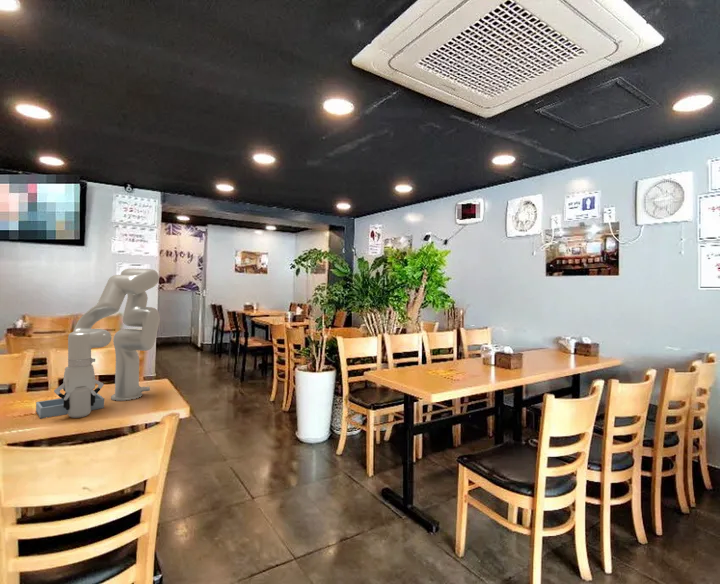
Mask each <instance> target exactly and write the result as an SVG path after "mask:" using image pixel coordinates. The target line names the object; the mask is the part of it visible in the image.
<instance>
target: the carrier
mask: <svg viewBox="0 0 720 584" xmlns="http://www.w3.org/2000/svg"><path fill="white" fill-rule="evenodd" d="M100 409H101V410H102V409H105V398H104V396H102V395H100V394H99V392H98V393H97V394H96V395H95V403H94V406H91V411H94V410H100ZM35 412H37V413H36V414H37V415H38V417H39V419H46V417H47V418H52V416H53V417H57V416H65V415H68V410H66V409H65V408H64V399H62V398H61V397H59V398H56V399H48V400H40V401H36V402H35Z"/></svg>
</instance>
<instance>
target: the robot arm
mask: <svg viewBox="0 0 720 584" xmlns="http://www.w3.org/2000/svg"><path fill="white" fill-rule="evenodd" d="M159 278H160V275H159V273H158V272H157V271H156V270H155V269H152V268H125V269H123V270H122V271H121V273H120V274H114V275H111V276H110V277H109V278H108V279H107V283H106V284H105V286H104V289H103V291H102V293H101V295H100V297H99V298H98V299H99V300H98V302H97V303H96V304H95V305H94V306H93V307H91V308H90V309H89V310H88V311H86V312H85V313H84V314H82V316H80V318H79V319H78V321H77V322H76V324H75V326H74V329H73V331H72V332H70V333H69V334H68V336H67V360H68V361H67V362H68V363H67V366H66V367H65V369H64V373H63V381H62V382H63V383H62V384H61V385H58V386H57V387H56V388H55V389H54V390H53V392H54V394H55V395H57V396H58V397H59V398H62V399H64V408H65V409H66V410H69V400H68V397H69V396H70V393H71V392H72V391H73V390H75V388H80V387H85V386H87V388H89V389H90V390H91V406H94V403H95V395H96V394H97V393H98V394H99V392H100V391H101V389H102V388H103V386H104V385H105V384H104V383H103V382H101V381H100V380H98V379H96V377H95V369H94V364H93V363H95V362H96V358H92V349H95V348H97V349H99V348H104V347H106V346H108V345H110V343H111V341H113V347H114V353H115V371H114V372H115V373H114V374H115V375H114V377H115V378H114V394H111V396H110V399H111V400H112V401H115V400H116V401H115V402H122V401H123V402H124V401H126V400H127V401H132V400H131V399H133V400H137V399H139V397H140V398H141V396H142V397H143V392H148V391H151V387H150V386H140V383H139V382H140V380H139V379H140V356H139V354H138V352H137V351H140V352H141V351H143V352H144V351H149V350H151V349H152V348H153V347H154V345H155V342H156V338H157V333H158V330H159V326H160V321H161V320H160V319H161V317H160V316H161V315H160V312H159V310H158V309H157V308H155V307H151V306H147V305H148V299H149V298H148V293H147V292H146V291H148V290H151V289H153V288H154V287H155V286H156V285H157V284H158V283H159V280H160V279H159ZM126 295H127V297H126ZM125 297H126V298H127V299H126V303H125V305H124V310H123V315H122V322H123V325H125V326H127V327H131V328H123V329H120V330H118V331H116V332H115V333H114V335H113V340H112V335H111V332H110V331H108V330H106V329H102V328H93V326H94V325H95V324H96V323H97V322H98V321H100V320H102V319H104V318H107V317H110V316H112V315H115V314H116V313H118V312H119V311H120V309H121V306H122V304H123V302H124V300H125ZM133 327H134V328H135V329H134V328H133ZM136 328H141V329H136ZM96 385H97V387H96ZM62 390H63V391H64V394H63V393H61V391H62ZM136 398H137V399H136ZM127 401H126V402H127Z"/></svg>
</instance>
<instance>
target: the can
mask: <svg viewBox="0 0 720 584" xmlns="http://www.w3.org/2000/svg"><path fill="white" fill-rule="evenodd" d="M68 400H69V410H68V414H67V416H69V417H70V418H73V419H79V418H85V417H87V416H88V415H89V414H90V413H91V412H92V410H91V390H90V389H89V388H87V386H85V387H80V388H75V390H73V391H72V392H71V393H70V396H69V397H68Z"/></svg>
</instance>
